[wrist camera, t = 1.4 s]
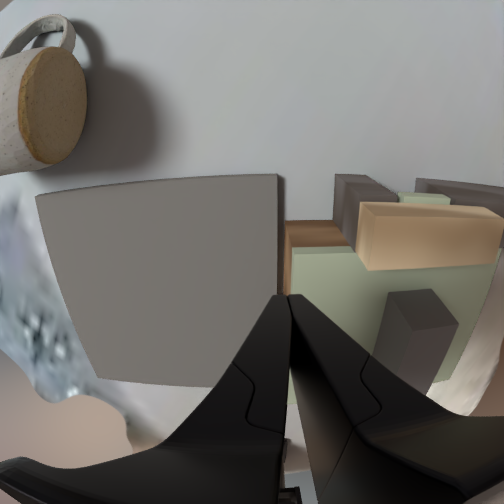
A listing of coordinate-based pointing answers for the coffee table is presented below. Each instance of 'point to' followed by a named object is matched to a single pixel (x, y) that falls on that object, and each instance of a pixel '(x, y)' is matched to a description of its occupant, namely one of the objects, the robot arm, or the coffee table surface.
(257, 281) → the rubber mat
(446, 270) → the toolbox lid
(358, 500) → the robot arm
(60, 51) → the ceramic mug
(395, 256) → the wooden block
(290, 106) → the coffee table surface
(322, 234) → the toolbox
